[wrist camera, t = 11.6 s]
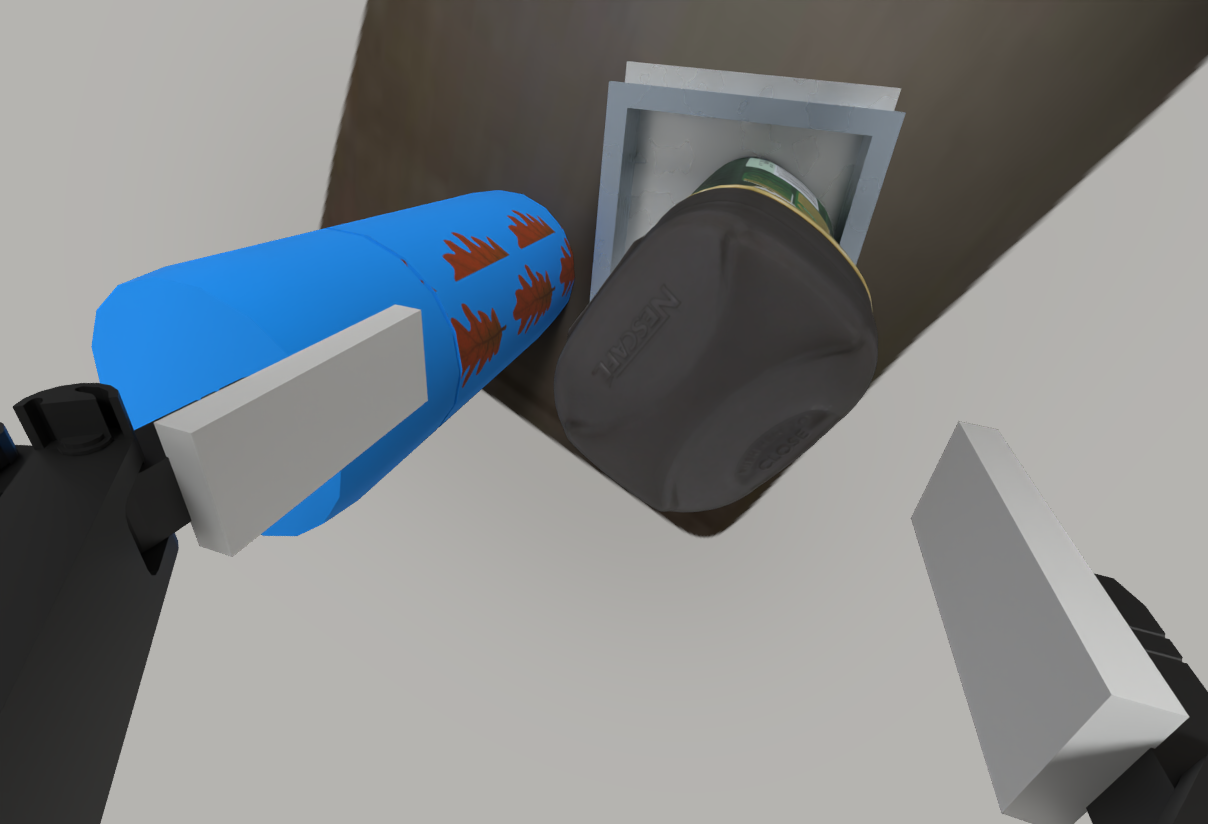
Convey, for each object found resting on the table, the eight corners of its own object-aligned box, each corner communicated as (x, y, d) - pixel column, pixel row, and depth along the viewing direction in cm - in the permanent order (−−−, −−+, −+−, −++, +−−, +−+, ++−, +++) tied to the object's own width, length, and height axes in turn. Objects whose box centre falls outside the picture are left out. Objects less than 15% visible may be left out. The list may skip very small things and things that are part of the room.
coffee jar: (732, 359, 33) (688, 578, 17) (630, 276, 32) (488, 425, 17) (862, 228, 28) (965, 370, 12) (744, 126, 27) (693, 138, 12)
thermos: (444, 317, 45) (139, 497, 23) (441, 176, 39) (41, 243, 18) (570, 346, 43) (362, 572, 21) (585, 202, 37) (326, 311, 16)
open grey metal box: (881, 93, 30) (914, 84, 23) (796, 371, 39) (800, 433, 31) (651, 70, 33) (611, 55, 25) (619, 336, 41) (582, 385, 33)
